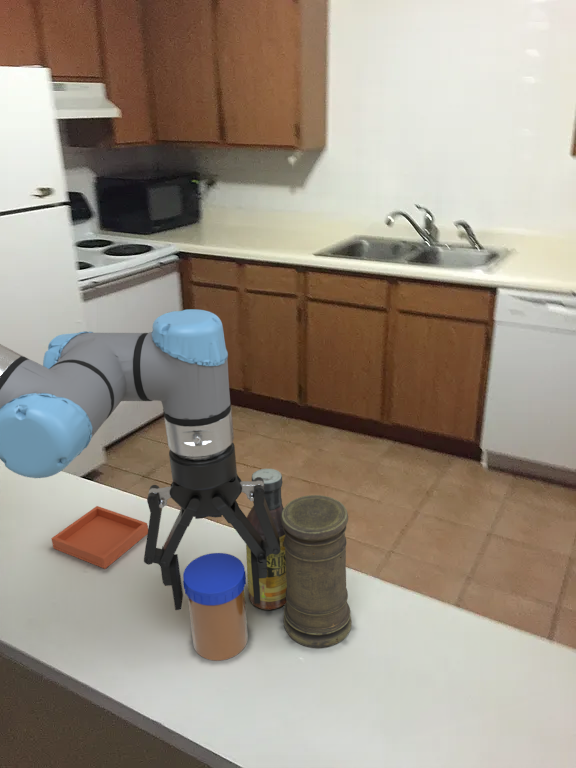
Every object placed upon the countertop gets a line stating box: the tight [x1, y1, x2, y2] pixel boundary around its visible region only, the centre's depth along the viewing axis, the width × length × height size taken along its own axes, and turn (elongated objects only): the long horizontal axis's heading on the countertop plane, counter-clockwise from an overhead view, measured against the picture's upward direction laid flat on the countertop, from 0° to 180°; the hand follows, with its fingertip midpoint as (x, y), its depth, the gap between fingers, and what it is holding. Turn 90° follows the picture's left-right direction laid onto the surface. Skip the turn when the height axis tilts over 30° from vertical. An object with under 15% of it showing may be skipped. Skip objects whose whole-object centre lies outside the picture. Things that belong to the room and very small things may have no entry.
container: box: [281, 494, 352, 649], centre depth 87 cm, size 9×9×18 cm
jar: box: [187, 589, 249, 662], centre depth 86 cm, size 7×7×10 cm
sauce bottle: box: [245, 468, 287, 611], centre depth 91 cm, size 7×6×20 cm
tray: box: [51, 505, 149, 570], centre depth 108 cm, size 11×10×2 cm
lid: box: [182, 552, 247, 605], centre depth 84 cm, size 8×8×2 cm
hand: (218, 599), depth 85 cm, fingers open, 9 cm apart
